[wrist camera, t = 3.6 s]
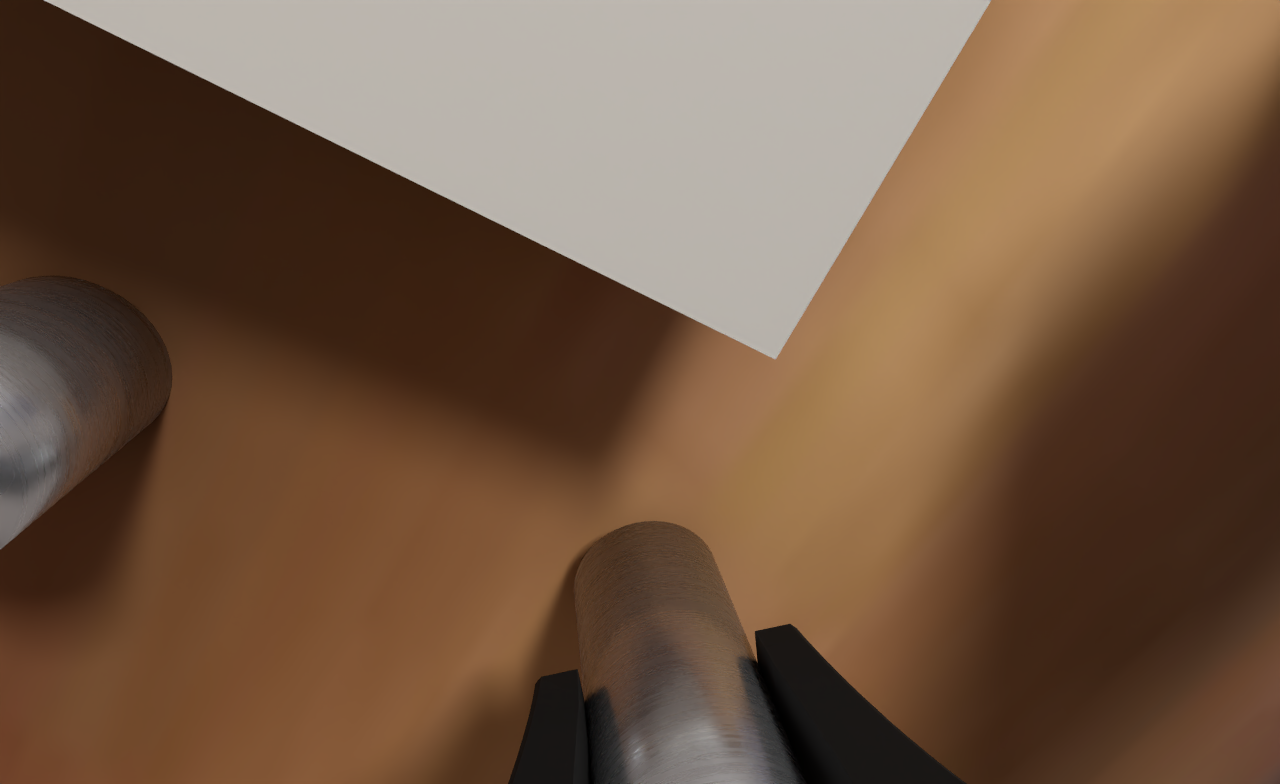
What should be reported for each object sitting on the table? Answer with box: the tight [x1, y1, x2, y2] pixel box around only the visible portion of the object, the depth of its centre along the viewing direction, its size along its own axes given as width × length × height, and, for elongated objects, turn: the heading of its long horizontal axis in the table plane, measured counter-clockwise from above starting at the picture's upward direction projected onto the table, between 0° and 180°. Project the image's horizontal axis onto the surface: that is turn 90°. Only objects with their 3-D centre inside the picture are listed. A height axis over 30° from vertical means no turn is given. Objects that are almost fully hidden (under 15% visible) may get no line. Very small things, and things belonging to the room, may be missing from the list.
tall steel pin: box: [574, 521, 807, 784], centre depth 11 cm, size 3×3×8 cm
